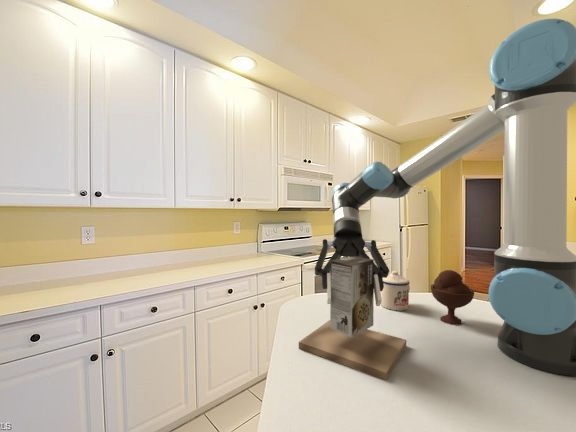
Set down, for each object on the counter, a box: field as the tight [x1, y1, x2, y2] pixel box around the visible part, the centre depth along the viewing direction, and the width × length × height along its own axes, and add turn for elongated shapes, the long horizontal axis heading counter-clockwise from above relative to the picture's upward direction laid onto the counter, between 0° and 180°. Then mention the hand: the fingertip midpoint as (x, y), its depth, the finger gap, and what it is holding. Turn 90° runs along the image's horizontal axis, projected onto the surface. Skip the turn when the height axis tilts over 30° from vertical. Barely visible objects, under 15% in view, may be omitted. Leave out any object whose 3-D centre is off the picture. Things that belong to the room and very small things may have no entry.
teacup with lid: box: [380, 270, 410, 312], centre depth 92 cm, size 12×9×12 cm
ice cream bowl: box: [430, 269, 475, 326], centre depth 79 cm, size 11×11×15 cm
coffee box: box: [329, 256, 375, 337], centre depth 64 cm, size 9×6×16 cm
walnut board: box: [298, 319, 407, 381], centre depth 64 cm, size 20×16×2 cm
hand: (353, 302), depth 61 cm, fingers closed on coffee box, 10 cm apart
